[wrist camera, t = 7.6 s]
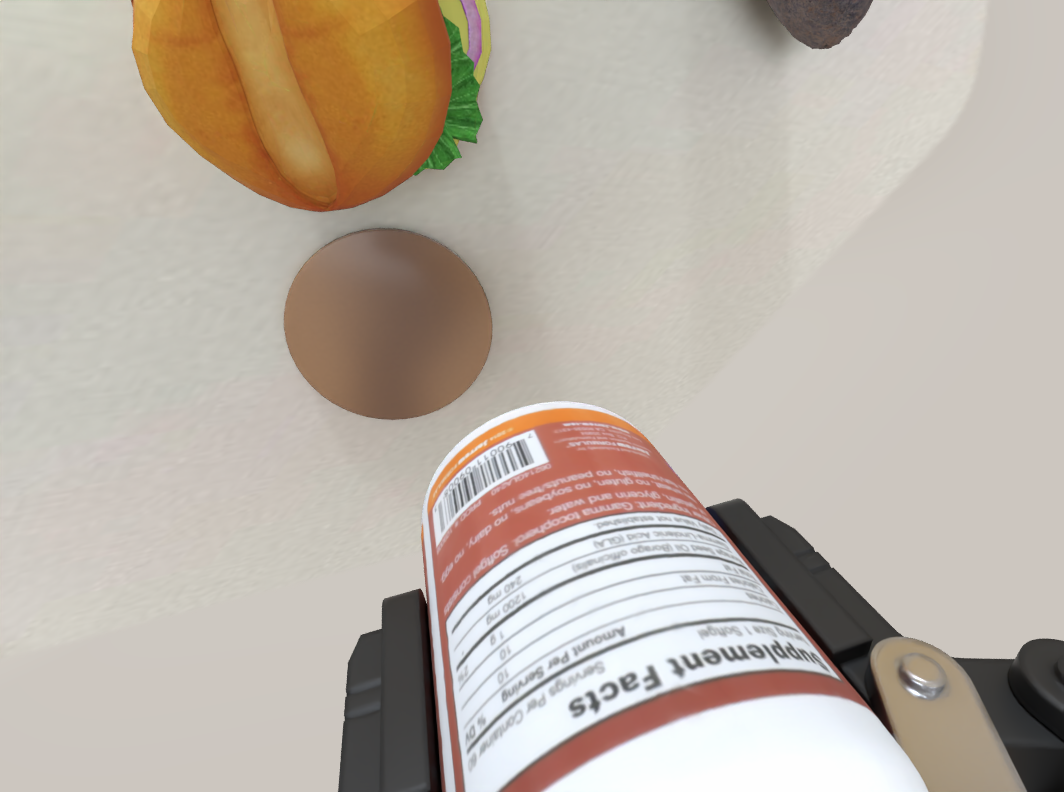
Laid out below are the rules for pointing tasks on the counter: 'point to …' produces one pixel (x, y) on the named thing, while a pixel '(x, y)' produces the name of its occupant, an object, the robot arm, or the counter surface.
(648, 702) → the pill bottle
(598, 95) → the counter surface
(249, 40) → the cheeseburger
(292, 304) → the coaster
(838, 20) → the perforated stone tool
